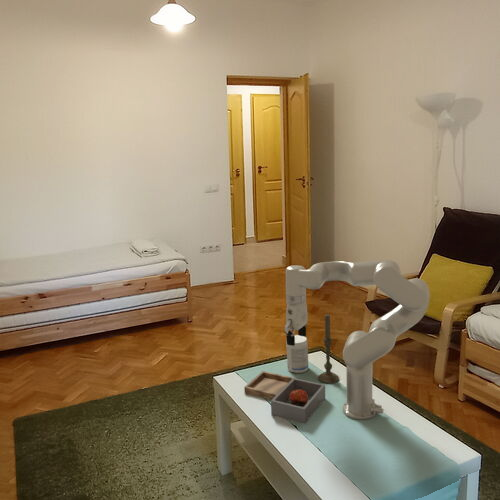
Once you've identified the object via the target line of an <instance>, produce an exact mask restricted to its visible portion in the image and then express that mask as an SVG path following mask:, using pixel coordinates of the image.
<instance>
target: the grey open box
mask: <svg viewBox="0 0 500 500" xmlns="http://www.w3.org/2000/svg"><path fill="white" fill-rule="evenodd" d="M292 378H293V379H292V380H291V381H290V382H289V383H288V384H287V385H286V386H285V387H284V388H283V389H282V390H281V391H280V392H279V393H278V394H277V395H276V396H275V397H274V398H273V399H272V400H271V399H270V412H271V413H270V414H271V416H273V417H278V418H281V419H285V420H289V421H293V422H295V423H300V424H304V425H306V424H307V423H308V421H309V420H310V419H311V418H312V417H313V415H314V414H315V412H317V410H318V409H319V407H320V406H321V405H322V404H323V403H324V401H325V400H326V384H324V383H318V382H313V381H308V380H305V379H299V378H296V377H292ZM300 387H301V390H303V391H305V392H306V393H307V395H308V397H311V398H310V399H308V402H307V404H306V405H305V406H296V405H293V404H292V403H288V401H290V400H289V397H290V393H291V392H292V391H294V390H299V388H300Z"/></svg>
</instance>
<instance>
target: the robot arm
mask: <svg viewBox="0 0 500 500" xmlns="http://www.w3.org/2000/svg"><path fill="white" fill-rule="evenodd" d="M331 281H341V282H347V284H350V285H351V286H353V287H363V286H365V287H367V286H376V287H377V288H378V289H379V290H380V291H381V292H382V293H384V294H385V295H386V296H387V297H389V298H390V299H392V300H393V301H394V302H396V303H397V304H398V305H397V306H396V307H395V308H393V309H392V310H390V311H389V312H387V313H385V314H384V315H382V316H380V317H379V318H377V319H376V320H374V321H373V322H372V323H371V325H370V327H369V329H368V331H367V332H366V331H363V330H356V331H353V332H352V333H350V334H349V336H348V337H347V339H346V342H345V344H344V347H343V350H342V359H343V362H344V363H345V365H346V402H345V403H343V404H342V412H343V414H345V416H347V417H349V418H352V419H353V420H369V419H372V418H373V417H375V416H376V415H377V414H380V415H383V414H384V408H383V405H381V404H377V403H375V402H376V401H375V399H374V398H373V374H374V373H373V365H374V364H373V363H374V362H375V361H377V360H378V359H380V358H382V357H385V356H386V355H387V354H388V353H390V352H391V350H393V348H394V347H395V346H396V345H395V344H396V341H397V339H398V337H399V336H401V335H402V334H404V333H405V332H406V331H408V330H409V329H411V328H412V327H414V326H415V325H416V324H418V323H419V322H420V321H421V320H422V318H424V316H425V314H426V313H427V311H428V308H429V305H430V298H431V297H430V295H431V293H430V288H429V285H428V283H427V282H426V281H425V280H424V279H421V278H418V277H417V278H411V279H409V280H408V279H407V278H406V277H405V276H404V275H402V274H401V269H400V266H399V264H398V263H397V262H396V261H394V260H389V259H386V260H385V259H383V260H374V261H372V260H371V261H359V262H355V261H354V262H351V261H349V262H348V261H324V262H318V263H315V264H313V265H311V267H309V268H308V269H306V268H305V267H304V266H303V265H297V264H296V265H290V266H287V267H286V268H285V302H286V310H285V325H284V334H285V336H286V339H287V345H291V346H294V345H295V336H294V335H295V332H296V331H297V335H299V336H304V337H306V336H307V323H308V321H309V320H308V318H309V317H308V316H309V315H308V305H307V289H311V290H319V289H320V288H322V287H323V285H324V284H325V283H326V282H331ZM291 330H292V331H291Z"/></svg>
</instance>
